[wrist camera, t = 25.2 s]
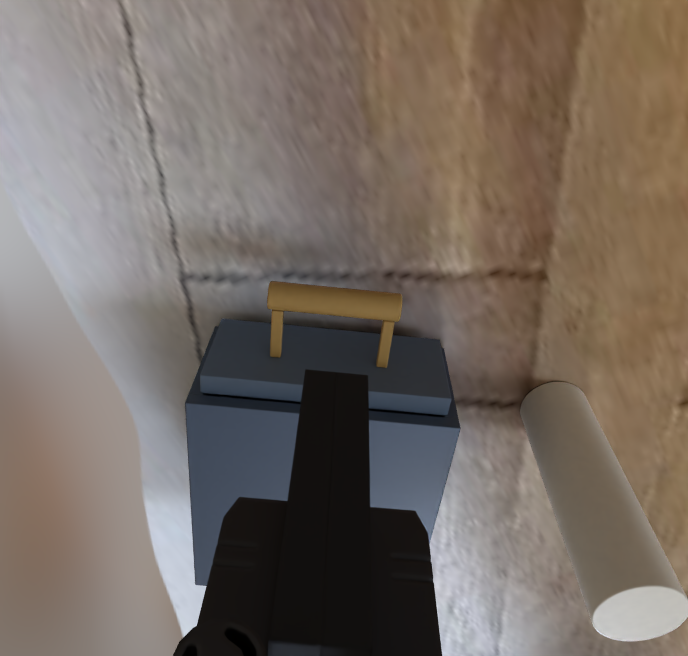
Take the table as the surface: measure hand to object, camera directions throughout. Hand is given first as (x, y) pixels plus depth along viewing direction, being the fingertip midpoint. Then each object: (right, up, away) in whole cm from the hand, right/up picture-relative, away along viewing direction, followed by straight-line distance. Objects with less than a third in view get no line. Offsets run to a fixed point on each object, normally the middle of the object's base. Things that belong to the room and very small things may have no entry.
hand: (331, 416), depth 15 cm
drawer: (-1, -2, +24) cm, 24 cm away
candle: (+14, -3, +26) cm, 30 cm away
